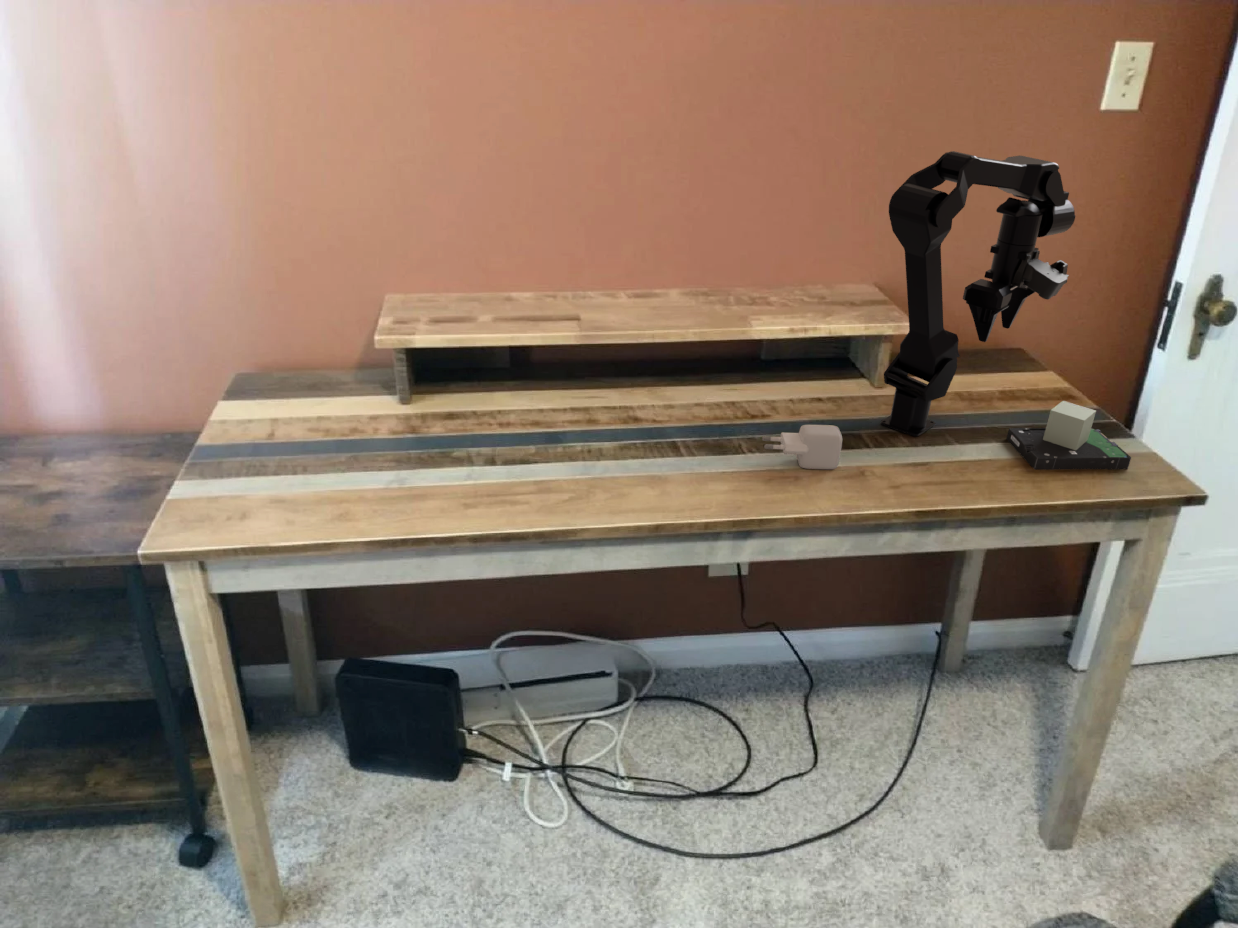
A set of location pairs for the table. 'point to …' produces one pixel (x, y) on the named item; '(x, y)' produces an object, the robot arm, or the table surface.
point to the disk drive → (1067, 451)
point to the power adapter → (811, 446)
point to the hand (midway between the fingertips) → (994, 334)
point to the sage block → (1069, 425)
